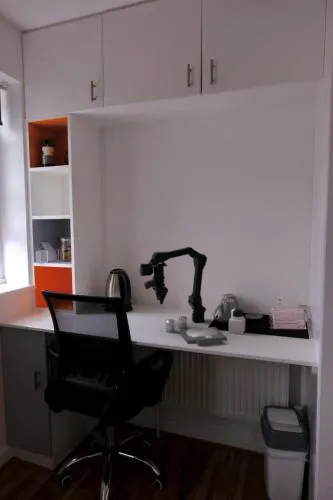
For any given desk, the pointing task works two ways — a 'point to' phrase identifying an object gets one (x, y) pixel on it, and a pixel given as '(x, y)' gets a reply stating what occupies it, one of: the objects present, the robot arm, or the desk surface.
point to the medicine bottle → (237, 322)
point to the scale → (203, 336)
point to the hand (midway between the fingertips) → (159, 302)
